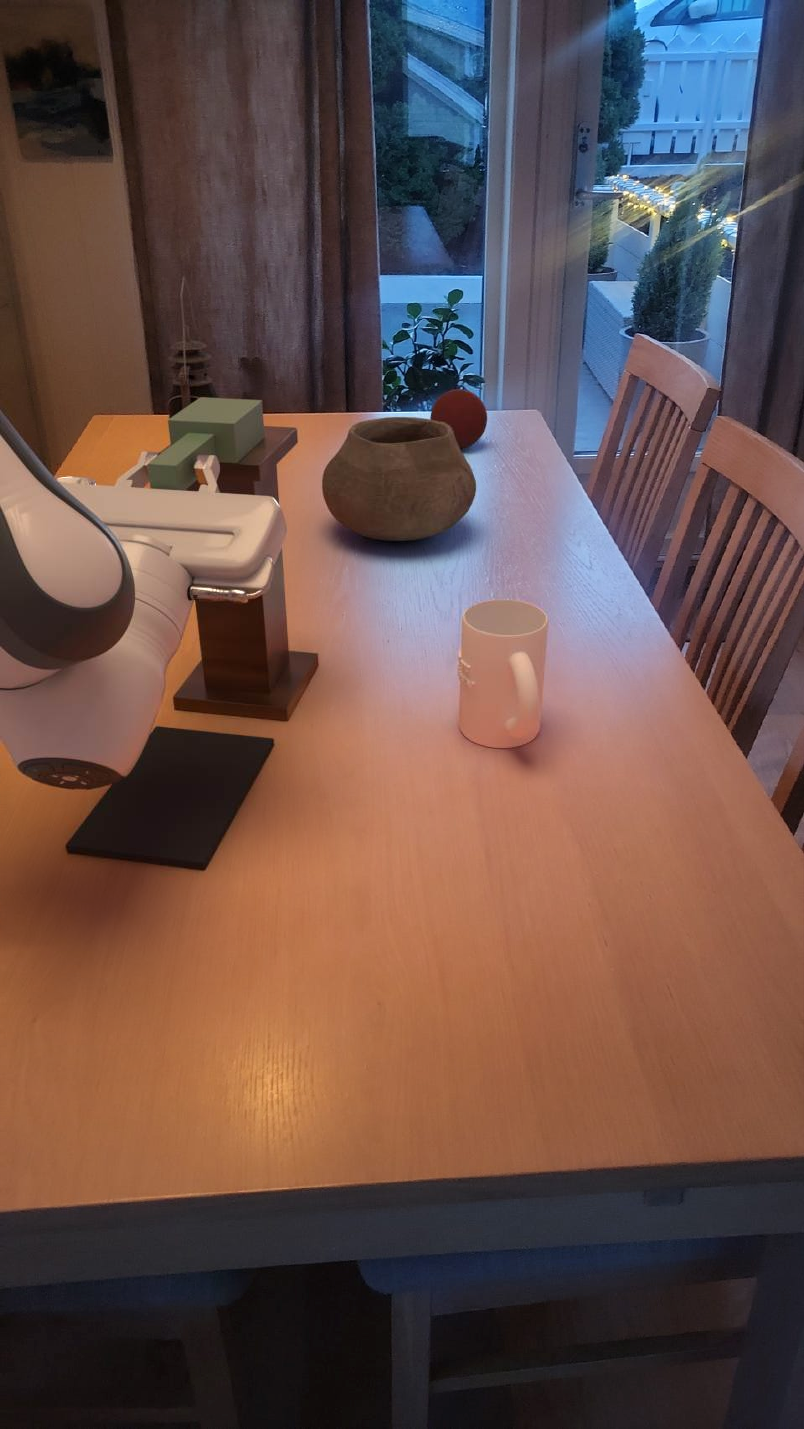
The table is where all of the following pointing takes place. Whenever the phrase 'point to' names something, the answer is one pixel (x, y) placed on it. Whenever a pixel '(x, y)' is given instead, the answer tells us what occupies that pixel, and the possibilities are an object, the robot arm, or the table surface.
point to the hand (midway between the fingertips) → (182, 458)
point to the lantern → (189, 369)
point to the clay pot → (399, 479)
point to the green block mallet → (206, 438)
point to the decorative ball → (461, 415)
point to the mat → (174, 799)
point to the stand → (249, 618)
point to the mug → (502, 672)
